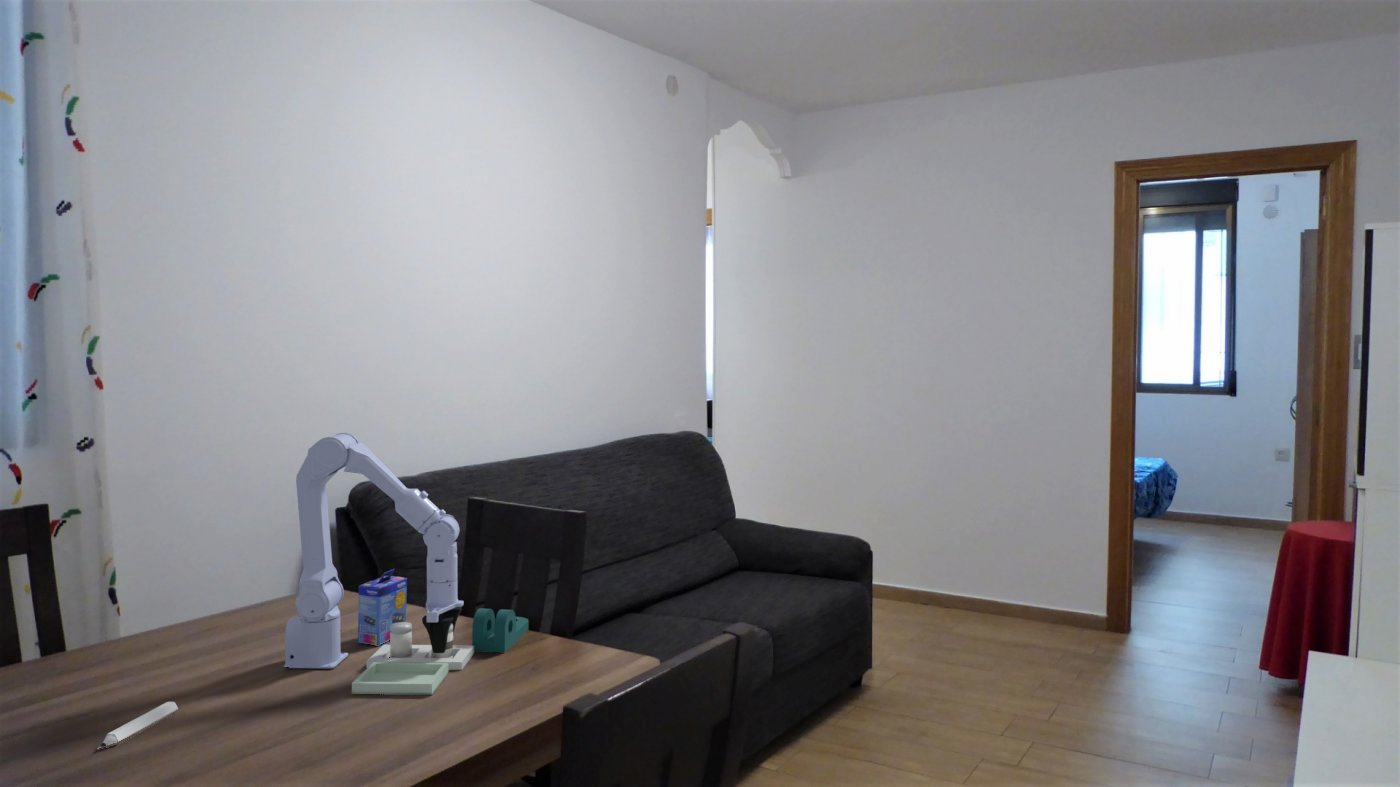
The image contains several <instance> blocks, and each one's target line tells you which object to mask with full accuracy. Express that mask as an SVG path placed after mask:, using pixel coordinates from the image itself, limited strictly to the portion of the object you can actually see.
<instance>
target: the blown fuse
mask: <svg viewBox="0 0 1400 787" xmlns="http://www.w3.org/2000/svg"><path fill="white" fill-rule="evenodd" d="M453 645H454V634H453V624H452V623H451V625H450V628H449V632H448V637H447V645H446V650H445V652H444V653H433V650H432V657H431V658H454V656H453Z"/></svg>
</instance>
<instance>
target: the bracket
mask: <svg viewBox="0 0 1400 787" xmlns="http://www.w3.org/2000/svg"><path fill="white" fill-rule="evenodd" d="M526 631H529V618H526V617H523V616H517V615H516V613H515V611H514V610H513V609H501V608H500V609H499V610H498V612H497V614H496V617H495V612H494V610H493V609H492V608H483V607H482V608H478V609H477V610H476V612H475V614H474V617H473V621H472V632H471V633H472V634H471V635H472V636H471V639H472V644H471V645H474V652H475V651H484V652H483V653H493V652H506V651H507V650H508V649H509V648H510V647H511V646H512V645H513V644H514V643H515V642H516V643H517V642H518V641H519V640H520V639H521V638H522V637H523V636H524V635H525V634H526V633H525V632H526ZM524 633H525V634H524ZM523 634H524V635H523ZM522 635H523V636H522ZM516 643H515V644H516ZM515 644H514V645H515ZM514 645H513V646H514ZM513 646H512V647H513ZM512 647H511V648H512ZM511 648H510V649H511ZM510 649H509V650H510ZM509 650H508V651H509ZM485 651H486V652H485ZM508 651H507V652H508ZM507 652H506V653H507Z"/></svg>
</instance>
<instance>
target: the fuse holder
mask: <svg viewBox="0 0 1400 787" xmlns="http://www.w3.org/2000/svg"><path fill="white" fill-rule="evenodd" d="M474 653H475V651H474V645H472V644H471V645H469V644H468V645H467V644H466V645H465V644H464V645H463V644H462V645H461V644H453V658H432V646H431V644H412V657H411V658H389V657H390V644H382V645H381V646H380V648H378V649H377V650H376V651H375V652H374V653H373V654H372V655H371V656H370V657H369V658H368V659H367V660H366V661H365V663H366V664H365V665H366V666H365V667H366V668H368V667H369V666H370V665H371V664H372V663H373V662H397V663H448V671H463V669H464V668H465V666H466V665H467V664H468V662H469V661H470V660H471V658H472V656H473V655H474ZM366 668H365V669H366Z"/></svg>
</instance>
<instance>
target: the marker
mask: <svg viewBox="0 0 1400 787" xmlns="http://www.w3.org/2000/svg"><path fill="white" fill-rule="evenodd" d="M178 709H179V708H178V706H177V704H176V701H175V702H174V701H166V702H164V703H163V704H160V705H159V706H157V707H155V708H153V709H151V710H149V711H148V712H146V713H144V714H142V715H140V716H139V717H137V718H135V719H132V720H131V721H129V722H127V723H125V724H123V725H121V726H120V727H118V728H116V729H113V730H112V731H110V732H108V733H107V734H106V736H105V738H104V740H103V742H102V743H101V744H100V745H99V746H98V748H97V750H100V749H99V748H102V747H104V746H107V745H110V744H113V743H117V742H119V741H121V740H123V739H125V738H127V737H129V736H131V735H132V734H134V733H136V732H138V731H140V730H141V729H143V728H145V727H147V726H149V725H151V724H152V723H155V722H156V721H158V720H160V719H162V718H163V717H166V716H167V715H169V714H171V713H173V712H175V711H176V710H177V711H178ZM102 749H103V748H102Z"/></svg>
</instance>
